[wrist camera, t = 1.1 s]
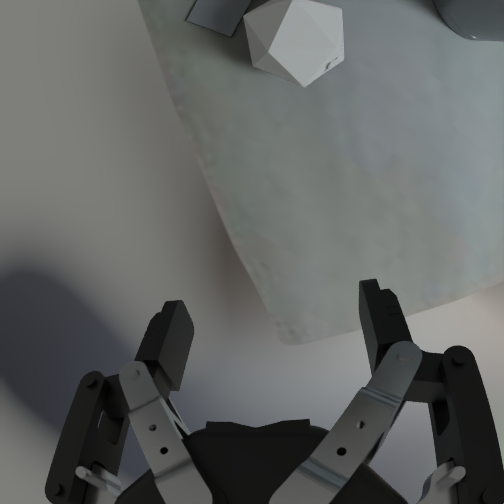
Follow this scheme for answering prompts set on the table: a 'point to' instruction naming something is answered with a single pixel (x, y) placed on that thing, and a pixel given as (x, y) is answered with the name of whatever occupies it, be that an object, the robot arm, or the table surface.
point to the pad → (219, 14)
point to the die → (295, 38)
